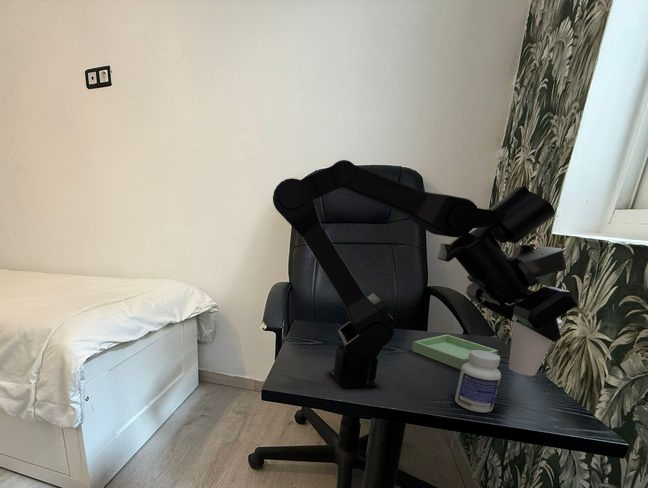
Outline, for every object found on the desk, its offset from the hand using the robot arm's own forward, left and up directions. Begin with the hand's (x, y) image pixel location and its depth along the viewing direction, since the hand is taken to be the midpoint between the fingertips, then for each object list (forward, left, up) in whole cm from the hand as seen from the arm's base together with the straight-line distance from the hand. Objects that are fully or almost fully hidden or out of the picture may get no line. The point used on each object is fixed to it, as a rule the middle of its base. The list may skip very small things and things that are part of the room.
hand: (542, 333), depth 59 cm
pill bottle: (-12, -3, -11) cm, 17 cm away
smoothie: (-1, 0, -7) cm, 7 cm away
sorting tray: (0, +17, -11) cm, 21 cm away
